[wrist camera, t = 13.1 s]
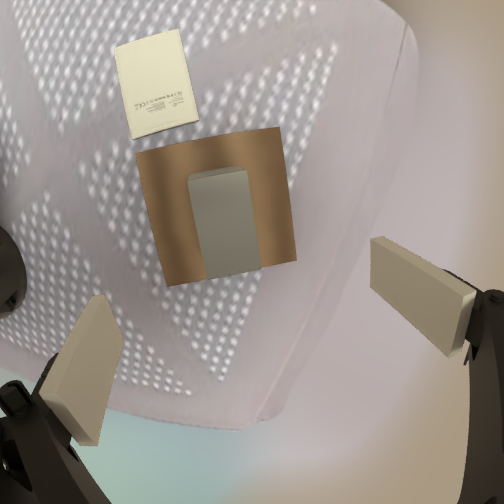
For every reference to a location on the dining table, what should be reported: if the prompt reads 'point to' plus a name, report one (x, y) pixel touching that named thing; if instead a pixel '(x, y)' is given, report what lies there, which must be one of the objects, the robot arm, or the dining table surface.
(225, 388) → the dining table surface
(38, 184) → the dining table surface
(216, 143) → the walnut stand
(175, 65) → the external hard drive
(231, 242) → the block
